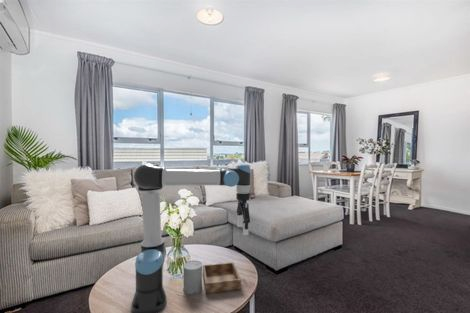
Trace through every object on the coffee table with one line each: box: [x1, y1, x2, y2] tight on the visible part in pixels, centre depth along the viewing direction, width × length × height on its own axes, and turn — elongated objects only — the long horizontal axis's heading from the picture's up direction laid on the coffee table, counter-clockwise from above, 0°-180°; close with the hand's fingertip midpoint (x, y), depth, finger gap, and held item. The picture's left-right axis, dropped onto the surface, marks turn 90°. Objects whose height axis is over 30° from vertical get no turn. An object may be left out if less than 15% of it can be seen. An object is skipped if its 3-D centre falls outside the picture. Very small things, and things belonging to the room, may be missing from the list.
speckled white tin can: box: [182, 260, 203, 295], centre depth 121 cm, size 10×10×12 cm
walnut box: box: [202, 261, 242, 295], centre depth 127 cm, size 18×19×6 cm
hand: (242, 230), depth 130 cm, fingers open, 13 cm apart
